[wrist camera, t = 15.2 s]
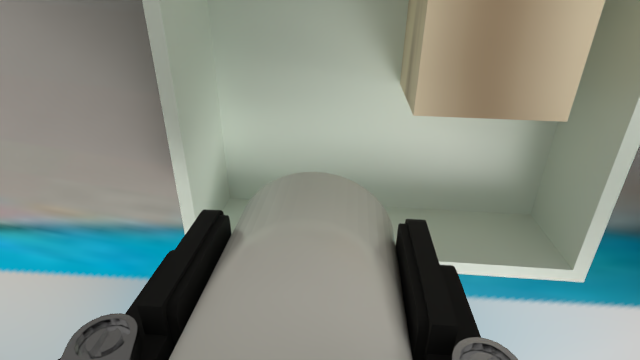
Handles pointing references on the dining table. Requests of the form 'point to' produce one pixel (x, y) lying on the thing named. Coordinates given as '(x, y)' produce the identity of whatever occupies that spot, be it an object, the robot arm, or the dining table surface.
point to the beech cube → (496, 57)
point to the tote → (392, 129)
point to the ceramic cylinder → (303, 279)
